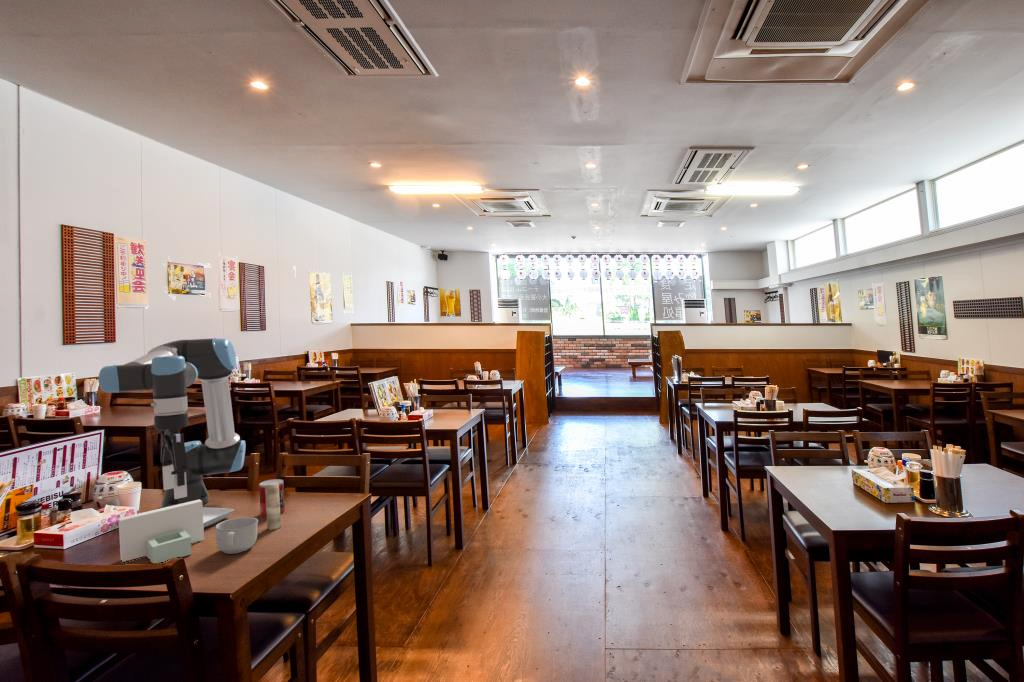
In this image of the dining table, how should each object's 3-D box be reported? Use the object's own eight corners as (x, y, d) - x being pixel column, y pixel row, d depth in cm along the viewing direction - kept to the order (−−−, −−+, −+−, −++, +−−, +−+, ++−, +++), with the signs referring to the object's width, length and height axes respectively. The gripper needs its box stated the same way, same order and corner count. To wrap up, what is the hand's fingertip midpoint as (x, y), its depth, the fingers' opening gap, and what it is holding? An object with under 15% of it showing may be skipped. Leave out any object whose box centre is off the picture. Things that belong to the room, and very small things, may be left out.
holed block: (147, 556, 141) (146, 538, 141) (183, 545, 148) (183, 529, 148) (153, 565, 135) (152, 547, 135) (191, 554, 142) (190, 536, 141)
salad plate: (236, 517, 173) (236, 507, 172) (183, 542, 152) (183, 531, 152) (186, 515, 177) (186, 505, 177) (128, 539, 156) (128, 528, 156)
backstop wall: (120, 560, 140) (118, 518, 140) (201, 537, 154) (199, 499, 154) (122, 563, 138) (120, 520, 138) (204, 539, 152) (202, 501, 152)
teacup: (228, 543, 149) (226, 516, 149) (265, 540, 150) (264, 514, 150) (203, 564, 135) (201, 535, 135) (244, 561, 136) (243, 532, 136)
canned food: (275, 517, 169) (274, 485, 169) (255, 516, 171) (253, 485, 171) (289, 509, 177) (288, 479, 177) (270, 509, 179) (268, 478, 178)
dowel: (265, 528, 160) (263, 485, 160) (278, 524, 163) (276, 482, 163) (270, 531, 157) (267, 487, 157) (282, 527, 160) (280, 484, 160)
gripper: (145, 411, 139) (149, 488, 139) (164, 419, 122) (168, 506, 122) (176, 408, 144) (180, 481, 145) (199, 414, 127) (203, 498, 128)
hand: (175, 493), depth 133 cm, fingers open, 12 cm apart
